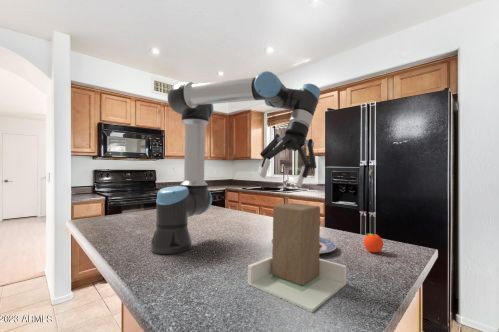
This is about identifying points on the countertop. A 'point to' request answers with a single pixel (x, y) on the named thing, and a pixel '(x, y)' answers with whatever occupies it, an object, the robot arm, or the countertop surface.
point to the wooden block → (296, 242)
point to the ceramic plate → (324, 245)
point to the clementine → (373, 243)
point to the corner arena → (302, 296)
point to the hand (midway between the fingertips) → (279, 181)
